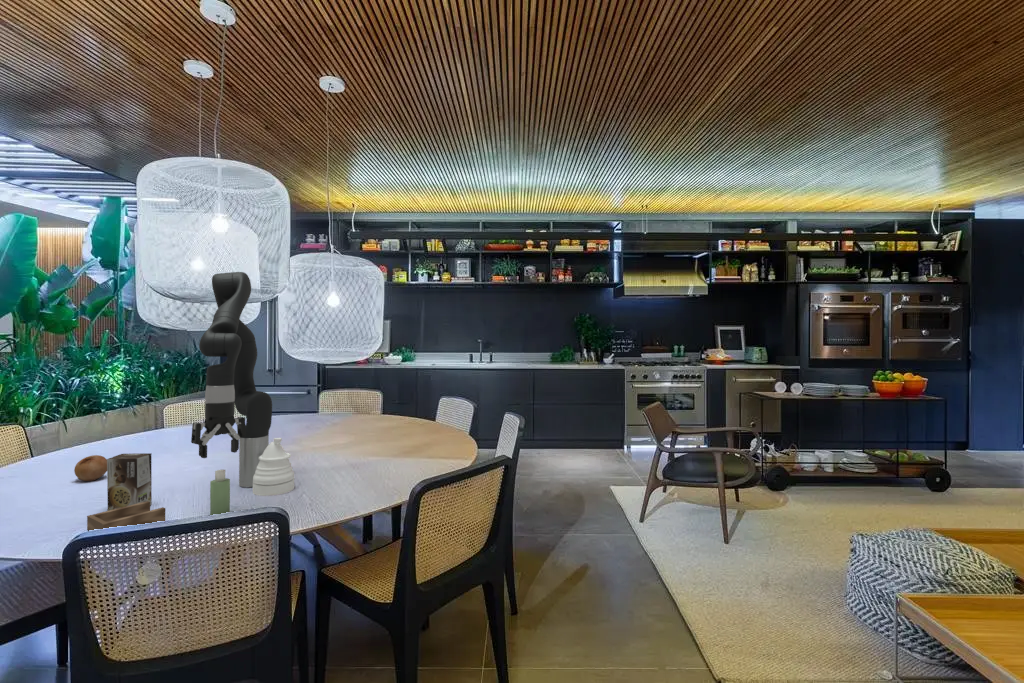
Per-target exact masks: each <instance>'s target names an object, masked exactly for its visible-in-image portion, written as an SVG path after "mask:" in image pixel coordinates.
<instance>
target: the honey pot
mask: <svg viewBox="0 0 1024 683" xmlns="http://www.w3.org/2000/svg"><path fill="white" fill-rule="evenodd" d="M282 441H283V438H282V437H274V438H273V441H271V442H269V445H268V446H267V447H266V449H265V450H264V452H263V454H262V455H261V456H260V457H259V460H260V461H259V464H258V466H257V467H256V471H255V474H254V476H253V487H252V494H253V495H254V496H258V497H259V496H260V497H272V496H280V495H284V494H287V493H290V492H292V491H293V490H294V489H295V471H294V470H293V467H292V463H291V461H290V458H291V456H292V454H291V453H289V452H286V450H285V448H284V447H283V445H282V444H281V442H282Z"/></svg>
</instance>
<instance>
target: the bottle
mask: <svg viewBox="0 0 1024 683" xmlns="http://www.w3.org/2000/svg"><path fill="white" fill-rule="evenodd" d="M214 474H215V475H214V479H212V480H210V484H209V487H210V488H209V489H210V490H209V492H210V494H209V497H210V498H209V503H210V504H209V516H210V515H213V514H221V513H226V512H230V513H231V479H230V478H226V469H217V470H215V471H214Z"/></svg>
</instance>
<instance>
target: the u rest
mask: <svg viewBox="0 0 1024 683" xmlns="http://www.w3.org/2000/svg"><path fill="white" fill-rule="evenodd" d="M86 517H87V518H86V519H87V520H86V523H87V524H86V526H87V528H86V531H87V530H94V529H103V528H109V527H117V526H127V525H137V524H145V523H152V522H157V521H165V522H166V507H164V506H163V507H159V508H155V509H151V505H150V502H149V501H146V502H142V503H138V504H134V505H130V506H126V507H121V508H117V509H113V510H109V511H108V510H107V511H106V510H105V511H102V512H98V513H94V514H90V515H87V516H86Z"/></svg>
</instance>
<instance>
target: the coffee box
mask: <svg viewBox="0 0 1024 683" xmlns="http://www.w3.org/2000/svg"><path fill="white" fill-rule="evenodd" d="M106 459H107V472H106V476H107V478H106V480H107V484H106V485H107V511H109V510H113V509H117V508H121V507H126V506H130V505H134V504H138V503H142V502H146V501H149V502H150V506H152V505H153V504H152V502H153V501H152V499H153V498H152V491H153V490H152V488H153V487H152V452H151V453H150V452H149V453H145V452H144V453H120V454H117V455H114V456H111V457H109V458H106Z"/></svg>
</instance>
